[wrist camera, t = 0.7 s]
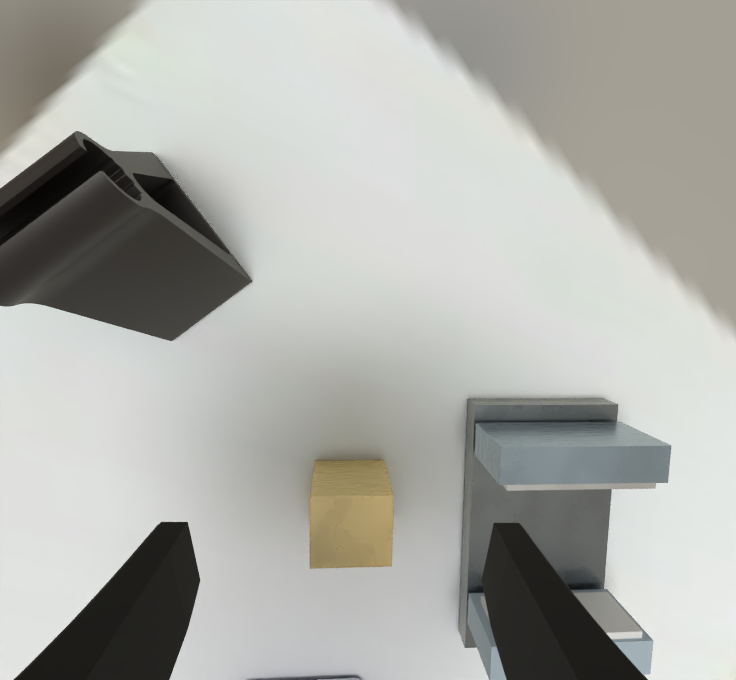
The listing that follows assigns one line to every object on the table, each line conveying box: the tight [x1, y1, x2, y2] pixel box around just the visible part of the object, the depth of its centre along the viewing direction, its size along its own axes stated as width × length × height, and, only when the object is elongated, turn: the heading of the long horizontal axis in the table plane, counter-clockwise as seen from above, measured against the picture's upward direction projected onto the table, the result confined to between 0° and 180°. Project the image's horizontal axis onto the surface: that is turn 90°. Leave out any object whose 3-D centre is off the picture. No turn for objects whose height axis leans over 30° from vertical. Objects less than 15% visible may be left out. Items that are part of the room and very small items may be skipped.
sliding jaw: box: [467, 589, 653, 680], centre depth 26 cm, size 2×9×4 cm, turn 89°
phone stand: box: [0, 131, 251, 341], centre depth 20 cm, size 9×6×12 cm, turn 36°
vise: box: [459, 399, 671, 648], centre depth 26 cm, size 16×9×6 cm, turn 179°
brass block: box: [310, 460, 393, 569], centre depth 26 cm, size 4×4×5 cm
